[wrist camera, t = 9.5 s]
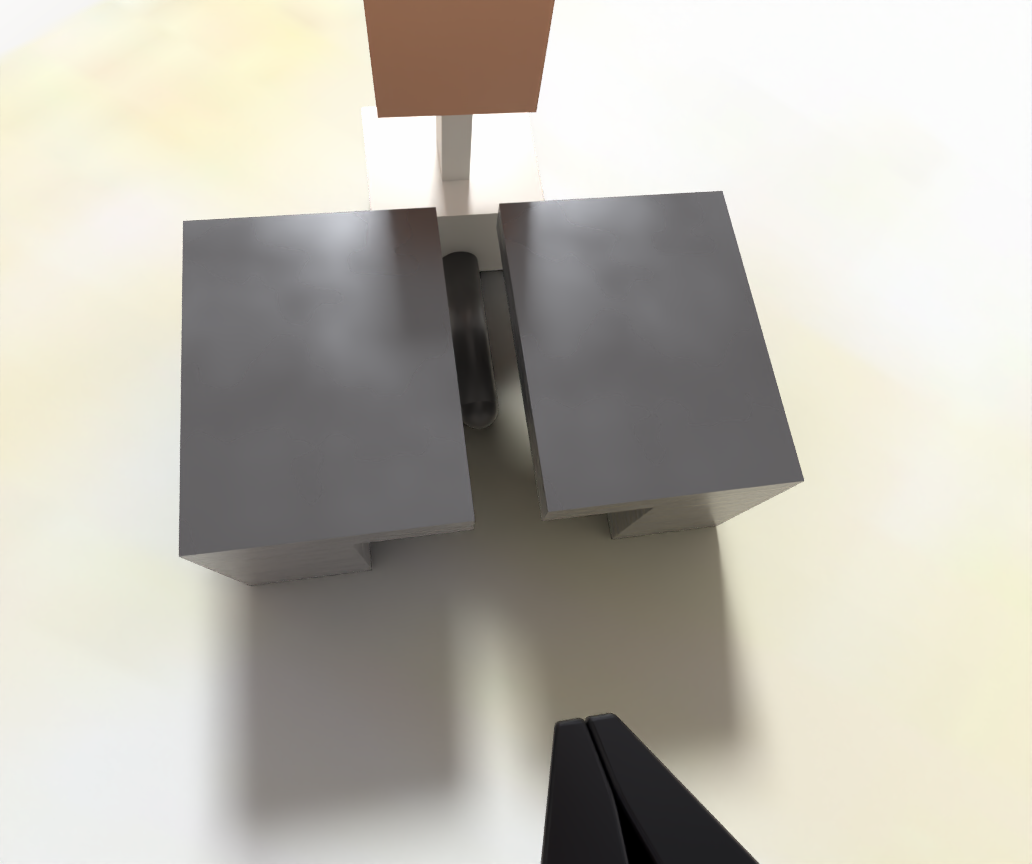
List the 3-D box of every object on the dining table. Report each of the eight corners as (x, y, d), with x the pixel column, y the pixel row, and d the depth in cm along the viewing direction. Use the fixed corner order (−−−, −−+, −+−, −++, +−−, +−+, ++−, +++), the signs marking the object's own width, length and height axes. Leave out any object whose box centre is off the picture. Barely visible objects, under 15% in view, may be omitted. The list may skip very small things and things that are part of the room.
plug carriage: (560, 425, 21) (670, 200, 11) (396, 442, 20) (347, 218, 10) (516, 168, 24) (569, -198, 14) (371, 175, 23) (314, -206, 13)
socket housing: (716, 525, 21) (804, 480, 16) (250, 585, 19) (178, 556, 14) (661, 293, 23) (722, 191, 18) (244, 325, 21) (183, 220, 16)
